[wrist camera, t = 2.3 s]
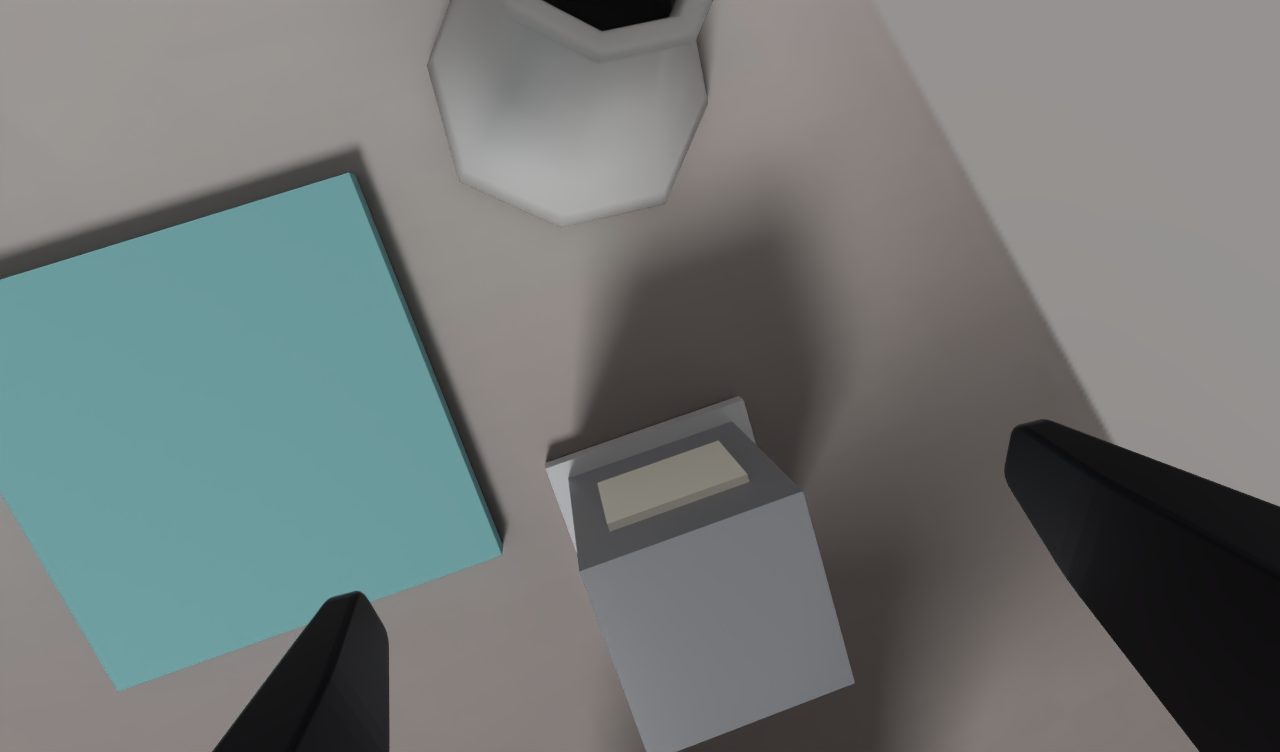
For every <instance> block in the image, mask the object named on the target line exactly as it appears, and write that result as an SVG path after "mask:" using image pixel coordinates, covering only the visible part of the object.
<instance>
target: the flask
mask: <svg viewBox="0 0 1280 752" xmlns="http://www.w3.org/2000/svg"><path fill="white" fill-rule="evenodd" d="M712 1H713V0H451V2H450V5H449V8H448V10H447V13H446V16H445V18H444V21H443V24H442V26H441V29H440V32H439V34H438V37H437V40H436V42H435V45H434V48H433V50H432V53H431V56H430V58H429V61H428V64H427V67H428V71H429V75H430V78H431V82H432V85H433V89H434V93H435V96H436V100H437V103H438V107H439V111H440V114H441V118H442V121H443V125H444V129H445V132H446V136H447V139H448V143H449V147H450V150H451V154H452V157H453V161H454V165H455V168H456V172H457V175H458V179H459V182H461V183H463V184H466V185H468V186H470V187H472V188H475V189H477V190H479V191H481V192H483V193H486V194H488V195H490V196H492V197H495V198H497V199H499V200H501V201H503V202H506V203H508V204H510V205H512V206H515V207H517V208H519V209H521V210H524V211H526V212H528V213H530V214H532V215H535V216H537V217H539V218H541V219H544V220H546V221H548V222H550V223H552V224H555V225H557V226H559V227H561V228H563V227H567V226H571V225H576V224H580V223H584V222H588V221H593V220H597V219H601V218H606V217H610V216H614V215H619V214H623V213H627V212H631V211H636V210H640V209H644V208H649V207H653V206H657V205H661V204H665V201H666V199H667V197H668V194H669V192H670V190H671V188H672V185H673V183H674V181H675V178H676V176H677V174H678V171H679V169H680V167H681V164H682V162H683V160H684V158H685V155H686V153H687V151H688V148H689V146H690V144H691V141H692V139H693V137H694V134H695V132H696V130H697V128H698V125H699V123H700V121H701V118H702V116H703V114H704V111H705V109H706V107H707V104H708V99H707V94H706V89H705V84H704V78H703V73H702V68H701V62H700V57H699V52H698V47H697V41H696V39H697V37H698V34H699V32H700V30H701V27H702V25H703V23H704V20H705V18H706V15H707V13H708V11H709V8H710V6H711V4H712Z"/></svg>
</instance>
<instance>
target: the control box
mask: <svg viewBox="0 0 1280 752" xmlns="http://www.w3.org/2000/svg"><path fill="white" fill-rule="evenodd" d="M545 465H546V471H547V474H548V476H549V479H550V482H551V485H552V487H553V490H554V493H555V495H556V498H557V501H558V504H559V506H560V509H561V512H562V514H563V517H564V520H565V523H566V525H567V528H568V531H569V533H570V536H571V539H572V541H573V544H574V547H575V550H576V552H577V556H578V564H579V572H580V574H581V577H582V580H583V583H584V585H585V588H586V591H587V593H588V596H589V599H590V601H591V604H592V607H593V610H594V612H595V615H596V618H597V620H598V623H599V626H600V628H601V631H602V634H603V636H604V639H605V642H606V645H607V647H608V650H609V653H610V655H611V658H612V661H613V663H614V666H615V669H616V672H617V674H618V677H619V680H620V682H621V685H622V688H623V690H624V693H625V696H626V698H627V701H628V704H629V707H630V709H631V712H632V715H633V717H634V720H635V723H636V725H637V728H638V731H639V734H640V736H641V739H642V742H643V744H644V747H645V750H646V752H677V751H680V750H682V749H685V748H688V747H690V746H693V745H695V744H698V743H701V742H703V741H706V740H708V739H711V738H714V737H716V736H719V735H721V734H724V733H727V732H729V731H732V730H734V729H737V728H740V727H742V726H745V725H747V724H750V723H753V722H755V721H758V720H760V719H763V718H766V717H768V716H771V715H773V714H776V713H779V712H781V711H784V710H786V709H789V708H792V707H794V706H797V705H799V704H802V703H805V702H807V701H810V700H812V699H815V698H818V697H820V696H823V695H826V694H828V693H831V692H833V691H836V690H839V689H841V688H844V687H846V686H849V685H852V684H854V683H855V681H854V678H853V674H852V670H851V666H850V663H849V659H848V655H847V652H846V648H845V644H844V640H843V637H842V633H841V629H840V626H839V622H838V618H837V615H836V611H835V607H834V603H833V600H832V596H831V592H830V589H829V585H828V581H827V577H826V574H825V570H824V566H823V563H822V559H821V555H820V552H819V548H818V544H817V540H816V537H815V533H814V529H813V526H812V522H811V518H810V515H809V511H808V507H807V503H806V500H805V496H804V492H803V490H802V489H801V488H800V487H799V486H798V485H796V484H795V483H794V482H793V481H792V480H791V479H790V478H789V477H788V476H787V475H786V474H785V473H784V472H783V471H782V470H781V469H780V468H779V467H778V466H777V465H776V464H775V463H774V462H773V461H772V460H771V459H770V458H769V457H768V456H767V455H766V454H765V453H764V452H763V451H762V450H761V449H760V448H759V447H758V446H757V445H756V442H755V438H754V435H753V431H752V428H751V424H750V421H749V417H748V414H747V410H746V407H745V403H744V400H743V399H742V398H741V397H739V396H737V397H734V398H731V399H728V400H725V401H722V402H720V403H717V404H714V405H711V406H708V407H705V408H702V409H699V410H696V411H694V412H691V413H688V414H685V415H682V416H679V417H676V418H673V419H670V420H668V421H665V422H662V423H659V424H656V425H653V426H650V427H647V428H644V429H642V430H639V431H636V432H633V433H630V434H627V435H624V436H621V437H618V438H616V439H613V440H610V441H607V442H604V443H601V444H598V445H595V446H592V447H590V448H587V449H584V450H581V451H578V452H575V453H572V454H569V455H567V456H564V457H561V458H558V459H555V460H552V461H549V462H546V463H545Z"/></svg>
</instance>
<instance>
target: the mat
mask: <svg viewBox="0 0 1280 752" xmlns="http://www.w3.org/2000/svg"><path fill="white" fill-rule="evenodd" d="M0 493H1V494H2V496H3V498H4V500H5V501H6V503H7V505H8V506H9V508H10V510H11V511H12V513H13V515H14V517H15V518H16V520H17V522H18V523H19V525H20V527H21V528H22V530H23V532H24V533H25V535H26V537H27V539H28V540H29V542H30V544H31V545H32V547H33V549H34V550H35V552H36V554H37V555H38V557H39V559H40V561H41V562H42V564H43V566H44V567H45V569H46V571H47V572H48V574H49V576H50V578H51V579H52V581H53V583H54V584H55V586H56V588H57V589H58V591H59V593H60V594H61V596H62V598H63V600H64V601H65V603H66V605H67V606H68V608H69V610H70V611H71V613H72V615H73V617H74V618H75V620H76V622H77V623H78V625H79V627H80V628H81V630H82V632H83V633H84V635H85V637H86V639H87V640H88V642H89V644H90V645H91V647H92V649H93V650H94V652H95V654H96V655H97V657H98V659H99V661H100V662H101V664H102V666H103V667H104V669H105V671H106V672H107V674H108V676H109V678H110V679H111V681H112V683H113V684H114V686H115V688H116V689H117V691H121V690H124V689H127V688H129V687H132V686H135V685H138V684H141V683H143V682H146V681H149V680H152V679H155V678H158V677H160V676H163V675H166V674H169V673H172V672H174V671H177V670H180V669H183V668H186V667H189V666H191V665H194V664H197V663H200V662H203V661H205V660H208V659H211V658H214V657H217V656H220V655H222V654H225V653H228V652H231V651H234V650H236V649H239V648H242V647H245V646H248V645H251V644H253V643H256V642H259V641H262V640H265V639H267V638H270V637H273V636H276V635H279V634H281V633H284V632H287V631H290V630H293V629H296V628H298V627H301V626H304V625H307V624H308V623H309V622H310V621H311V619H312V618H313V617H314V615H315V614H316V613H317V611H318V610H319V609H320V607H321V606H322V605H323V604H324V602H325V601H326V600H328V599H329V598H331V597H333V596H337V595H341V594H345V593H349V592H353V591H361V592H362V593H364V594H365V595H366V597H367V598H368V600H369V602H372V601H374V600H377V599H380V598H383V597H386V596H389V595H391V594H394V593H397V592H400V591H403V590H405V589H408V588H411V587H414V586H417V585H420V584H422V583H425V582H428V581H431V580H434V579H436V578H439V577H442V576H445V575H448V574H451V573H453V572H456V571H459V570H462V569H465V568H467V567H470V566H473V565H476V564H479V563H482V562H484V561H487V560H490V559H493V558H496V557H498V556H501V555H502V551H503V545H502V542H501V540H500V537H499V535H498V532H497V529H496V527H495V524H494V522H493V519H492V517H491V514H490V512H489V509H488V507H487V504H486V502H485V499H484V497H483V494H482V492H481V489H480V487H479V484H478V482H477V479H476V477H475V474H474V472H473V469H472V467H471V464H470V462H469V459H468V457H467V454H466V452H465V449H464V447H463V444H462V442H461V439H460V437H459V434H458V432H457V429H456V427H455V424H454V422H453V419H452V416H451V414H450V411H449V409H448V406H447V404H446V401H445V399H444V396H443V394H442V391H441V389H440V386H439V384H438V381H437V379H436V376H435V374H434V371H433V369H432V366H431V364H430V361H429V359H428V356H427V354H426V351H425V349H424V346H423V344H422V341H421V339H420V336H419V334H418V331H417V329H416V326H415V324H414V321H413V319H412V316H411V314H410V311H409V308H408V306H407V303H406V301H405V298H404V296H403V293H402V291H401V288H400V286H399V283H398V281H397V278H396V276H395V273H394V271H393V268H392V266H391V263H390V261H389V258H388V256H387V253H386V251H385V248H384V246H383V243H382V241H381V238H380V236H379V233H378V231H377V228H376V226H375V223H374V221H373V218H372V216H371V213H370V211H369V208H368V206H367V203H366V200H365V198H364V195H363V193H362V190H361V188H360V185H359V183H358V180H357V178H356V175H355V174H352V173H346V174H342V175H339V176H336V177H333V178H329V179H326V180H323V181H320V182H316V183H313V184H310V185H307V186H303V187H300V188H297V189H294V190H290V191H287V192H284V193H281V194H277V195H274V196H271V197H268V198H264V199H261V200H258V201H254V202H251V203H248V204H245V205H241V206H238V207H235V208H232V209H228V210H225V211H222V212H219V213H215V214H212V215H209V216H206V217H202V218H199V219H196V220H193V221H189V222H186V223H183V224H180V225H176V226H173V227H170V228H167V229H163V230H160V231H157V232H154V233H150V234H147V235H144V236H141V237H137V238H134V239H131V240H128V241H124V242H121V243H118V244H115V245H111V246H108V247H105V248H102V249H98V250H95V251H92V252H88V253H85V254H82V255H79V256H75V257H72V258H69V259H66V260H62V261H59V262H56V263H53V264H49V265H46V266H43V267H40V268H36V269H33V270H30V271H27V272H23V273H20V274H17V275H14V276H10V277H7V278H4V279H1V280H0Z"/></svg>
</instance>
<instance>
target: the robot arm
mask: <svg viewBox="0 0 1280 752" xmlns="http://www.w3.org/2000/svg"><path fill="white" fill-rule="evenodd" d="M1004 471H1005V478H1006V481H1007V484H1008V486H1009V488H1010V489H1011V491H1012V493H1013V494H1014V496H1015V497H1016V499H1017V501H1018V502H1019V504H1020V505H1021V507H1022V509H1023V510H1024V512H1025V513H1026V515H1027V517H1028V518H1029V520H1030V522H1031V523H1032V525H1033V526H1034V528H1035V530H1036V531H1037V533H1038V534H1039V536H1040V538H1041V539H1042V541H1043V542H1044V544H1045V546H1046V547H1047V549H1048V551H1049V552H1050V554H1051V555H1052V557H1053V559H1054V560H1055V562H1056V563H1057V565H1058V566H1059V568H1060V569H1061V571H1062V572H1063V574H1064V575H1065V577H1066V579H1067V580H1068V581H1069V583H1070V584H1071V585H1072V587H1073V588H1074V589H1075V591H1076V592H1077V593H1078V595H1079V596H1080V597H1081V599H1082V600H1083V601H1084V603H1085V604H1086V605H1087V607H1088V608H1089V609H1090V610H1091V612H1092V613H1093V614H1094V616H1095V617H1096V618H1097V619H1098V621H1099V622H1100V623H1101V625H1102V626H1103V627H1104V629H1105V630H1106V631H1107V632H1108V634H1109V635H1110V636H1111V638H1112V639H1113V640H1114V642H1115V643H1116V644H1117V645H1118V647H1119V648H1120V649H1121V651H1122V652H1123V653H1124V654H1125V656H1126V657H1127V658H1128V660H1129V661H1130V662H1131V664H1132V665H1133V666H1134V667H1135V669H1136V670H1137V671H1138V673H1139V674H1140V675H1141V677H1142V678H1143V679H1144V680H1145V682H1146V683H1147V684H1148V686H1149V687H1150V688H1151V689H1152V691H1153V692H1154V693H1155V695H1156V696H1157V697H1158V699H1159V700H1160V701H1161V702H1162V704H1163V705H1164V706H1165V708H1166V709H1167V710H1168V712H1169V713H1170V714H1171V715H1172V717H1173V718H1174V719H1175V721H1176V722H1177V723H1178V724H1179V726H1180V727H1181V728H1182V730H1183V731H1184V732H1185V734H1186V735H1187V736H1188V737H1189V739H1190V740H1191V741H1192V743H1193V744H1194V745H1195V747H1196V748H1197V749H1198V750H1199V752H1280V507H1279V506H1277V505H1274V504H1271V503H1269V502H1266V501H1263V500H1261V499H1258V498H1255V497H1253V496H1250V495H1247V494H1245V493H1241V492H1239V491H1237V490H1234V489H1231V488H1229V487H1226V486H1223V485H1221V484H1218V483H1215V482H1213V481H1210V480H1207V479H1205V478H1202V477H1199V476H1197V475H1194V474H1191V473H1189V472H1186V471H1184V470H1181V469H1178V468H1176V467H1173V466H1170V465H1168V464H1165V463H1162V462H1160V461H1156V460H1154V459H1151V458H1149V457H1146V456H1144V455H1141V454H1138V453H1136V452H1133V451H1130V450H1127V449H1125V448H1122V447H1120V446H1117V445H1114V444H1112V443H1109V442H1106V441H1104V440H1101V439H1098V438H1096V437H1093V436H1090V435H1088V434H1085V433H1082V432H1080V431H1077V430H1074V429H1072V428H1069V427H1066V426H1064V425H1061V424H1058V423H1056V422H1053V421H1050V420H1045V419H1041V420H1036V421H1032V422H1028V423H1024V424H1020V425H1018V426H1016V427H1015V428H1014V429H1013V431H1012V433H1011V437H1010V442H1009V447H1008V452H1007V457H1006V463H1005V469H1004ZM212 752H389V642H388V636H387V632H386V629H385V627H384V625H383V623H382V622H381V620H380V618H379V617H378V615H377V613H376V612H375V610H374V608H373V607H372V605H371V603H370V602H369V600H368V598H367V597H366V595H365V594H364V593H362V592H361V591H353V592H349V593H345V594H341V595H337V596H333V597H331V598H329V599H328V600H326V601H325V602H324V604H323V605H322V606H321V607H320V609H319V610H318V611H317V613H316V614H315V615H314V617H313V618H312V619H311V621H310V622H309V623H308V625H307V626H306V627H305V629H304V630H303V631H302V633H301V634H300V635H299V637H298V638H297V639H296V641H295V642H294V643H293V645H292V646H291V647H290V649H289V650H288V651H287V653H286V654H285V655H284V657H283V658H282V659H281V661H280V662H279V663H278V665H277V666H276V667H275V669H274V670H273V671H272V673H271V674H270V675H269V677H268V678H267V679H266V681H265V682H264V683H263V685H262V686H261V687H260V689H259V690H258V691H257V693H256V694H255V695H254V697H253V698H252V699H251V701H250V702H249V703H248V705H247V706H246V707H245V709H244V710H243V711H242V713H241V714H240V715H239V717H238V718H237V719H236V721H235V722H234V723H233V725H232V726H231V727H230V729H229V730H228V731H227V732H226V734H225V735H224V736H223V738H222V739H221V740H220V742H219V743H218V744H217V746H216V747H215V748H214V750H213V751H212Z"/></svg>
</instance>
